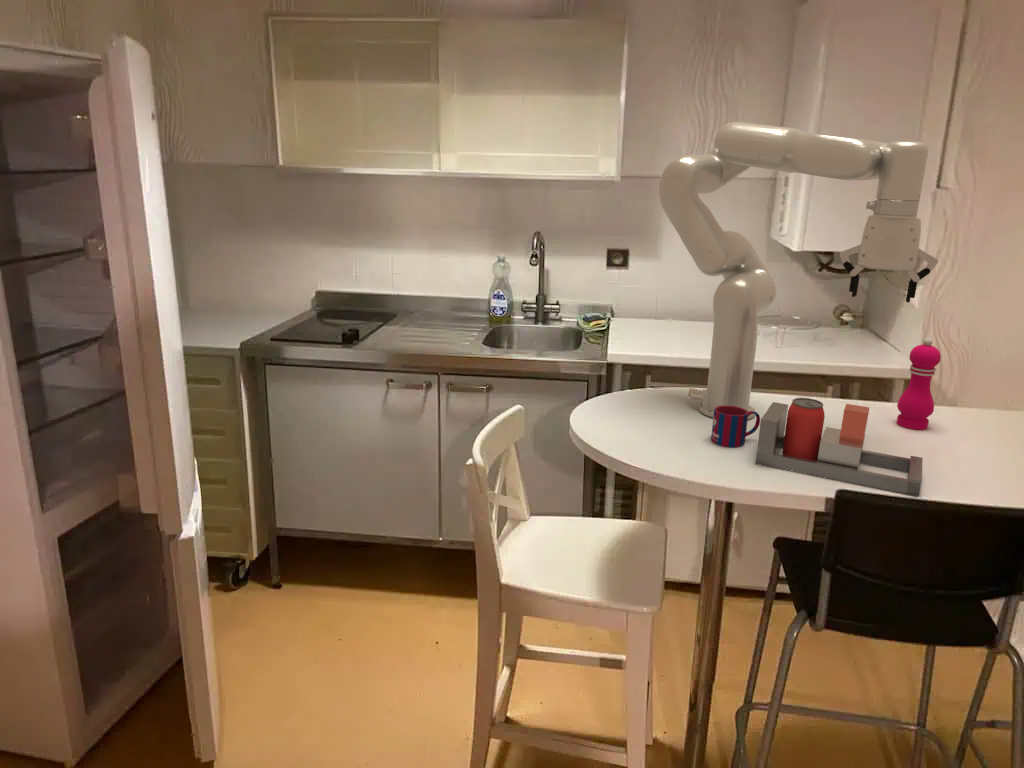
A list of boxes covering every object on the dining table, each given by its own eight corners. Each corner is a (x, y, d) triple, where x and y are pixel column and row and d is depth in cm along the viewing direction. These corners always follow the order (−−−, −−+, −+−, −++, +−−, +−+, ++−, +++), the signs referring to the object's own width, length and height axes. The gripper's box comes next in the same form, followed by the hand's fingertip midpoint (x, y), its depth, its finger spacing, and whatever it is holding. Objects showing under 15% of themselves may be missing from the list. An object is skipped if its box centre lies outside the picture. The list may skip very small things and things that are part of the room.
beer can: (800, 469, 145) (809, 409, 141) (774, 457, 150) (782, 399, 147) (824, 464, 148) (834, 405, 144) (797, 452, 153) (806, 395, 150)
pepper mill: (893, 427, 170) (909, 339, 164) (894, 417, 176) (910, 332, 170) (930, 433, 166) (947, 343, 161) (930, 423, 173) (947, 337, 167)
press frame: (755, 463, 147) (760, 419, 144) (767, 443, 157) (772, 402, 155) (918, 496, 134) (928, 448, 132) (919, 472, 145) (928, 427, 142)
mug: (706, 436, 161) (709, 405, 159) (751, 435, 162) (755, 404, 160) (718, 448, 154) (722, 416, 152) (765, 447, 156) (769, 415, 154)
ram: (815, 471, 143) (825, 410, 140) (821, 455, 151) (830, 397, 148) (856, 479, 140) (866, 417, 137) (860, 462, 148) (870, 403, 144)
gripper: (844, 207, 146) (831, 296, 151) (947, 213, 139) (929, 306, 144) (848, 206, 153) (835, 291, 158) (947, 211, 145) (930, 300, 150)
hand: (880, 298), depth 151 cm, fingers open, 9 cm apart
